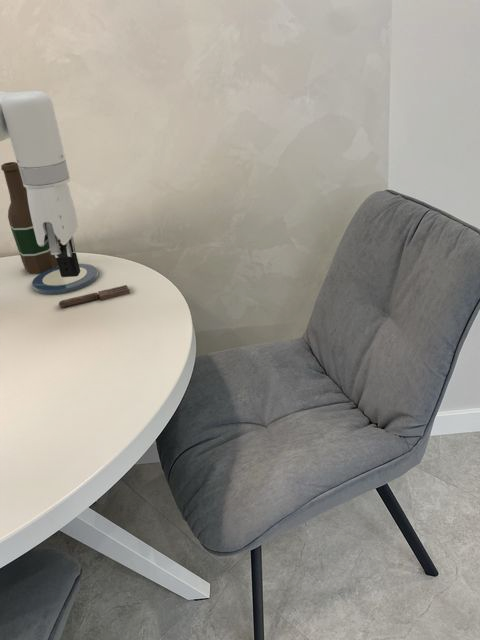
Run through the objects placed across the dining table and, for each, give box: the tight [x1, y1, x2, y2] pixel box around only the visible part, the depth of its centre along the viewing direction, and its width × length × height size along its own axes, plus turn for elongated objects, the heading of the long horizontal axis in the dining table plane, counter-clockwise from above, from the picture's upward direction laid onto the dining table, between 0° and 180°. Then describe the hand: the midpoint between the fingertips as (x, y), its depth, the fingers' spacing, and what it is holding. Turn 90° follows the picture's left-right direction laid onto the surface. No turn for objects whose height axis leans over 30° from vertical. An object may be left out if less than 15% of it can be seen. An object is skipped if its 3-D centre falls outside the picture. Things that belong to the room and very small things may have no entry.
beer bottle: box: [0, 161, 58, 275], centre depth 123 cm, size 8×8×24 cm
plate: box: [31, 263, 99, 295], centre depth 121 cm, size 14×14×1 cm
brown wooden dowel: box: [58, 284, 130, 308], centre depth 111 cm, size 14×3×1 cm, turn 113°
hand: (71, 274), depth 100 cm, fingers closed
